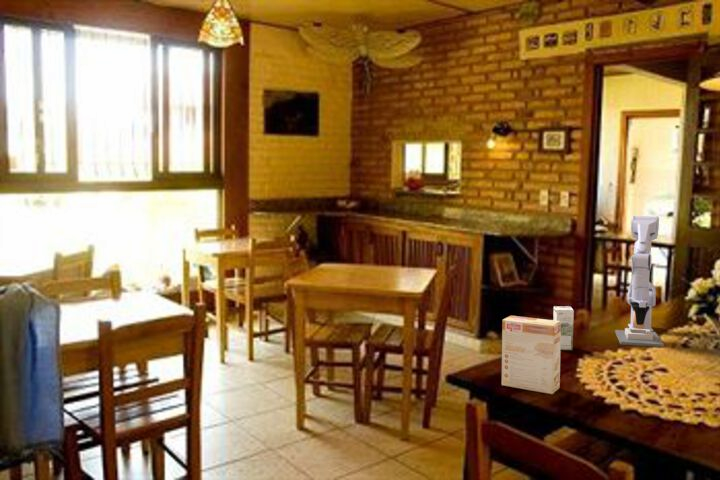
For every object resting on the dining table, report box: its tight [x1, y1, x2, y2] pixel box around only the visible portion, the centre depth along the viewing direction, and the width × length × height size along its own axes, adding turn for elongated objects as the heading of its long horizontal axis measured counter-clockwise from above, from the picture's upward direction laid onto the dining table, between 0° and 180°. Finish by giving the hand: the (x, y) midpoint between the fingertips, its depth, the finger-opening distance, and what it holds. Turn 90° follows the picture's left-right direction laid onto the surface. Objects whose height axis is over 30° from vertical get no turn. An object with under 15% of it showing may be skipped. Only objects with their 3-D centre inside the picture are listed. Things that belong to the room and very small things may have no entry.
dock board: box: [614, 327, 665, 348], centre depth 233 cm, size 18×14×3 cm
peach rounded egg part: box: [633, 311, 645, 329], centre depth 233 cm, size 4×4×6 cm
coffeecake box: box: [501, 315, 561, 395], centre depth 182 cm, size 15×7×20 cm, turn 57°
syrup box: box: [552, 305, 575, 351], centre depth 222 cm, size 6×6×14 cm
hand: (639, 323), depth 233 cm, fingers closed on peach rounded egg part, 4 cm apart
